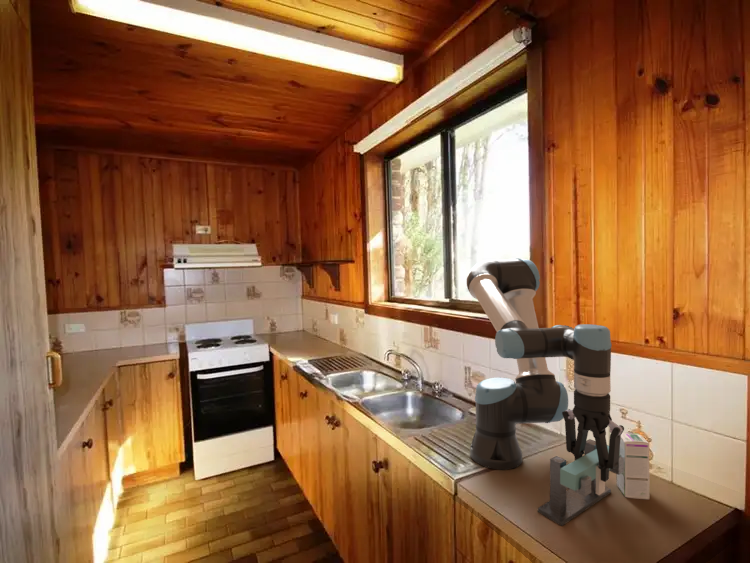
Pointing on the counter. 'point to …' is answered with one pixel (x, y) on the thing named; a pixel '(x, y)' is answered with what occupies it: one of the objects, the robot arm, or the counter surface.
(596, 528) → the counter surface
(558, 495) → the rack
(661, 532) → the counter surface
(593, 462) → the block
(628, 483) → the syrup box
